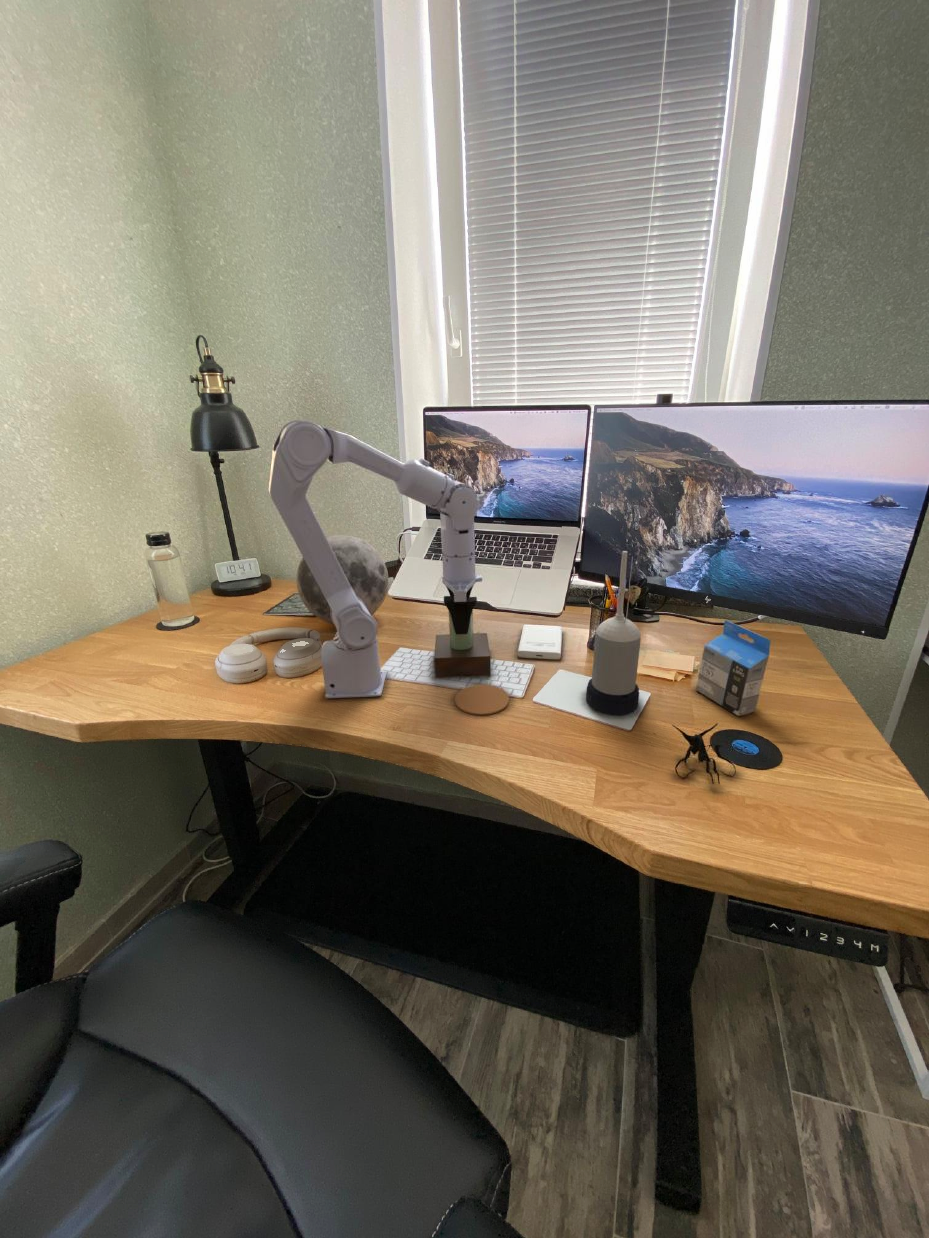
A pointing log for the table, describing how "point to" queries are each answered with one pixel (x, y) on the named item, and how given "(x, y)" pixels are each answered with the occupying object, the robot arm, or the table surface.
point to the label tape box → (734, 669)
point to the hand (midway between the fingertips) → (461, 624)
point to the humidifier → (615, 660)
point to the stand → (462, 658)
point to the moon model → (347, 576)
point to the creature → (701, 752)
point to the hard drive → (540, 642)
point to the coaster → (481, 699)
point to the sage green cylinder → (461, 636)
